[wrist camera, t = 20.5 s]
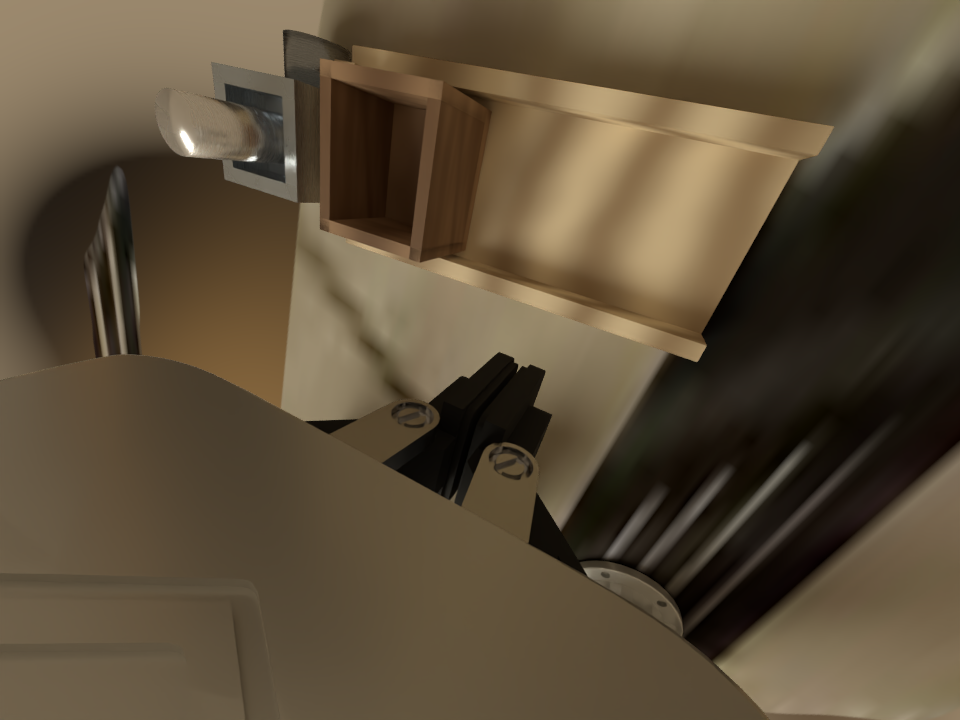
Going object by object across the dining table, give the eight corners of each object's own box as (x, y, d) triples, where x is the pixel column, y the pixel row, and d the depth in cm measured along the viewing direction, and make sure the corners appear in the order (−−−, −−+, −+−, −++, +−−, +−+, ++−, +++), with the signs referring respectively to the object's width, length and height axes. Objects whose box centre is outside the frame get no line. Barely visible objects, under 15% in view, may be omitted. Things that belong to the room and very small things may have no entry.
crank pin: (307, 117, 25) (188, 90, 19) (312, 168, 27) (203, 159, 20) (273, 113, 26) (148, 86, 19) (279, 163, 28) (164, 153, 21)
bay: (804, 138, 20) (851, 119, 15) (690, 343, 26) (700, 372, 22) (385, 63, 27) (335, 35, 22) (373, 238, 33) (331, 244, 28)
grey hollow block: (379, 61, 27) (292, 14, 20) (370, 202, 32) (297, 202, 25) (307, 49, 29) (204, 0, 22) (309, 184, 33) (224, 179, 27)
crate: (491, 111, 24) (443, 81, 18) (465, 250, 28) (419, 262, 23) (392, 91, 26) (319, 58, 20) (382, 224, 30) (319, 229, 25)
